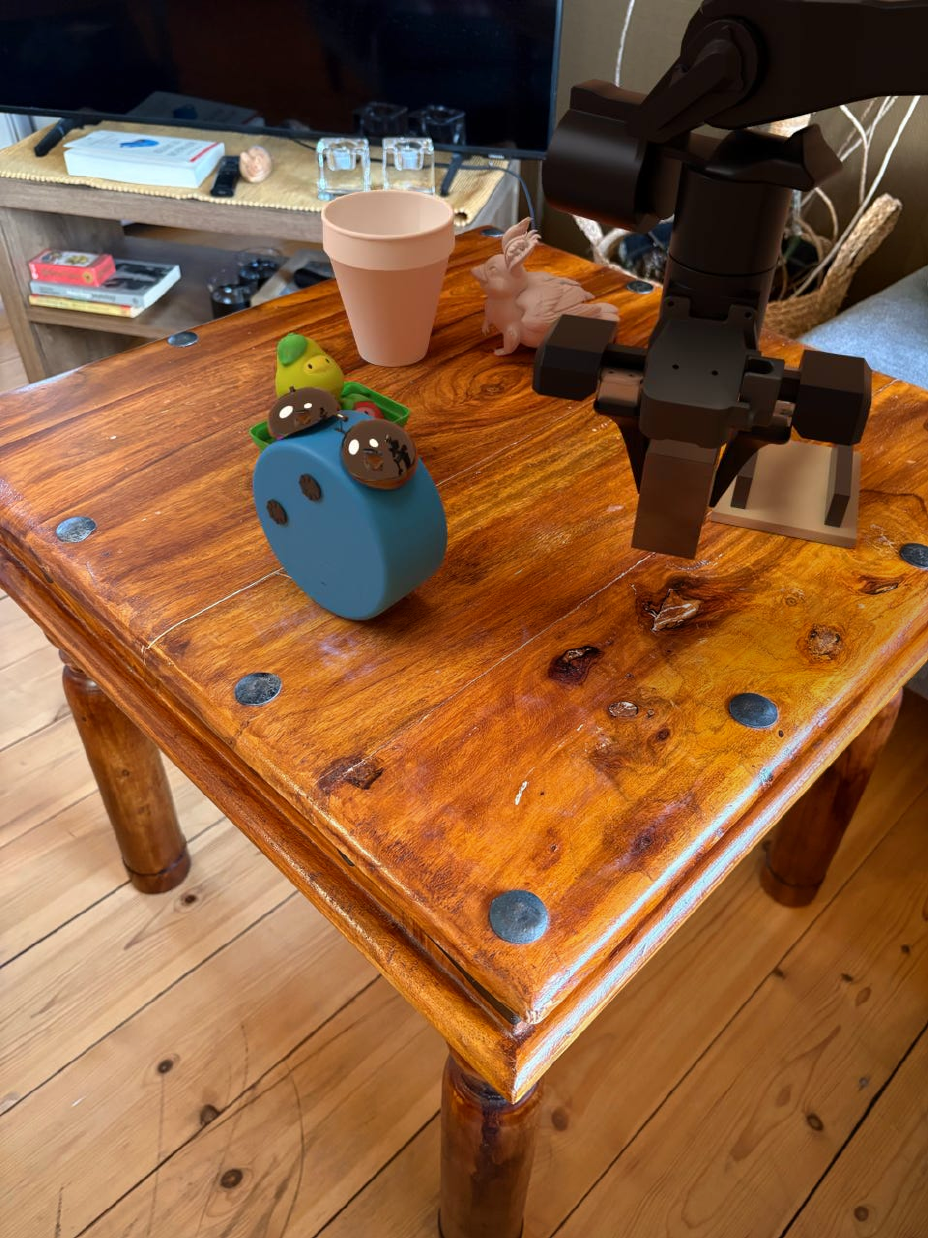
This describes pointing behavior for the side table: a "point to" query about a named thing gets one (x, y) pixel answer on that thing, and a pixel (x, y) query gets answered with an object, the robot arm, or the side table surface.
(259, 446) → the fruit basket
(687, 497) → the dark brown block
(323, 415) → the alarm clock
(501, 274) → the figurine
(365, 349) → the cup
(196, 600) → the side table surface
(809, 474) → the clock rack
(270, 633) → the side table surface
